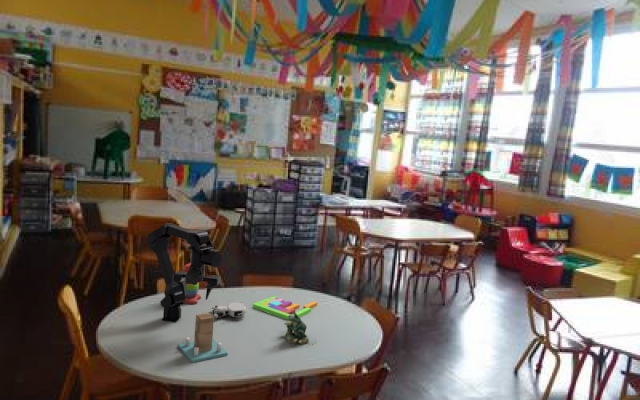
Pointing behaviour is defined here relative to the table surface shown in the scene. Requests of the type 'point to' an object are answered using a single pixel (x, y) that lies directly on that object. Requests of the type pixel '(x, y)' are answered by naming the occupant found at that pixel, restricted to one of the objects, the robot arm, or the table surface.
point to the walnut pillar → (203, 331)
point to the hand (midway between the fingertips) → (195, 298)
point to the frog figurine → (296, 330)
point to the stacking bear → (191, 290)
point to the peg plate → (196, 356)
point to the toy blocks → (282, 307)
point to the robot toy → (230, 310)
